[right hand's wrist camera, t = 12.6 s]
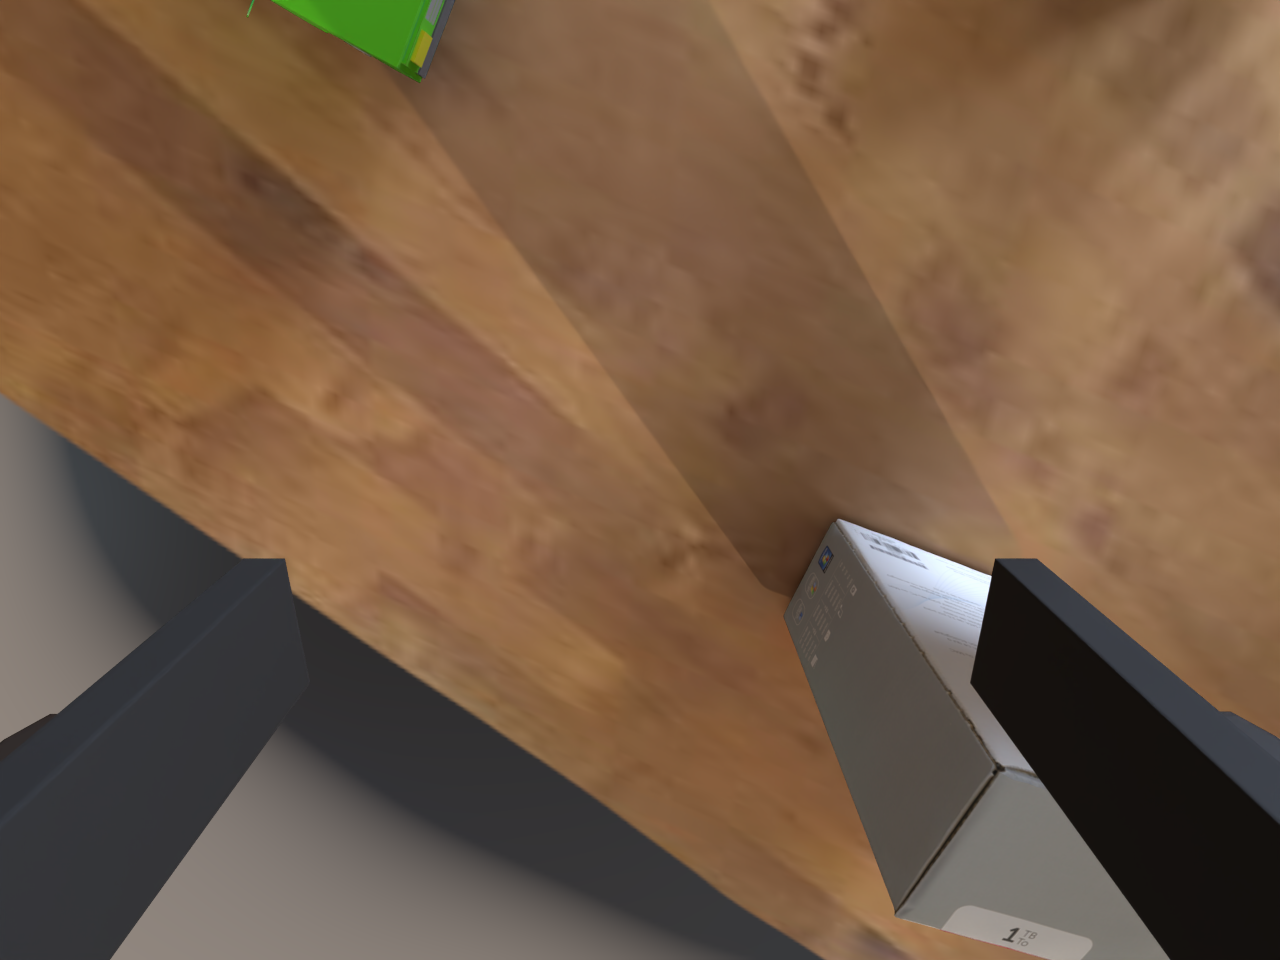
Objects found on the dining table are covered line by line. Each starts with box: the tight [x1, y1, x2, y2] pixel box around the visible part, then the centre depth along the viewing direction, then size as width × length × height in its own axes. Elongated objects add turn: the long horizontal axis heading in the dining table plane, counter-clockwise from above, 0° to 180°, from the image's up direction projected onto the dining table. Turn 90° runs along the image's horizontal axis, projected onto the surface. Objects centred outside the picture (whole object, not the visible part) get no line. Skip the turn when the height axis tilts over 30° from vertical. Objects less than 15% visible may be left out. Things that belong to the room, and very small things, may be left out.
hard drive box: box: [784, 519, 1170, 960], centre depth 33 cm, size 16×8×20 cm, turn 69°
